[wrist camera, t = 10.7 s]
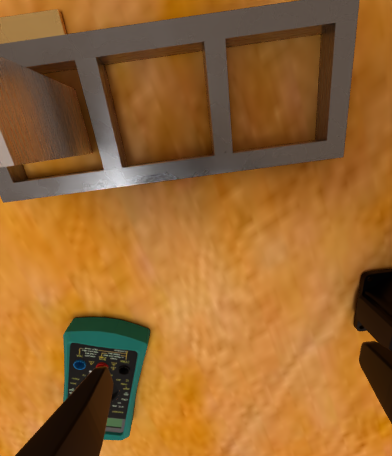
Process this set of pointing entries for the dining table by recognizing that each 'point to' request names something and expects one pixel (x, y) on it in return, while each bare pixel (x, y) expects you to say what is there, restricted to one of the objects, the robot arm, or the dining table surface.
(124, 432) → the digital multimeter
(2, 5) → the dining table surface
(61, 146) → the grey tall square block
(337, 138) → the rail frame
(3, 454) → the dining table surface
